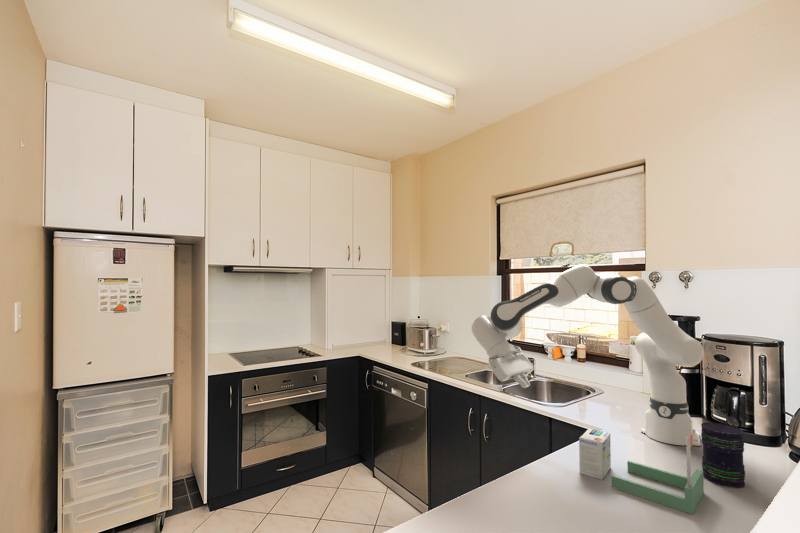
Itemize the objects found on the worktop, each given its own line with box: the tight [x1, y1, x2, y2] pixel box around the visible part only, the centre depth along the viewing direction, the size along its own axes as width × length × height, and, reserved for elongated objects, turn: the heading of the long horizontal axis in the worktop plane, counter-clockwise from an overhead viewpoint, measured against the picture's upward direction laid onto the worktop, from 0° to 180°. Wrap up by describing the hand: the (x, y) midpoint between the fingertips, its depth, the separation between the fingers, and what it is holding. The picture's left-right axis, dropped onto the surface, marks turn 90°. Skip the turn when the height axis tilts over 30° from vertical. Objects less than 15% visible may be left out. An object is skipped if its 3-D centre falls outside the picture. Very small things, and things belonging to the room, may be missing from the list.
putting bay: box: [611, 433, 705, 515], centre depth 111 cm, size 15×18×18 cm
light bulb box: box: [578, 427, 612, 480], centre depth 122 cm, size 11×7×11 cm, turn 141°
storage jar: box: [700, 421, 746, 489], centre depth 117 cm, size 10×10×15 cm
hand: (527, 386), depth 139 cm, fingers closed
